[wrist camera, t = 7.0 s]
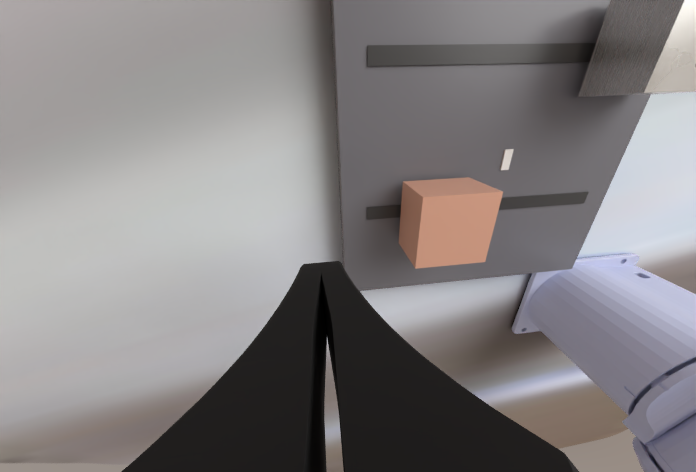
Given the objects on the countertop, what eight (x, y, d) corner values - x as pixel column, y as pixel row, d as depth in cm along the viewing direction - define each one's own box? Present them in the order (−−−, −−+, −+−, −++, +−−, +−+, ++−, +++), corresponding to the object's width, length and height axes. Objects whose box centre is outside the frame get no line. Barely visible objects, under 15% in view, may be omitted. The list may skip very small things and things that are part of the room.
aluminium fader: (685, -2, 12) (793, -35, 9) (643, 94, 14) (723, 90, 11) (611, -3, 11) (700, -38, 9) (577, 96, 13) (644, 92, 11)
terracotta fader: (468, 177, 15) (503, 191, 12) (457, 237, 16) (485, 261, 14) (402, 181, 14) (423, 197, 12) (398, 242, 16) (415, 268, 13)
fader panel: (699, -95, 12) (751, -123, 10) (555, 259, 21) (573, 269, 19) (325, -113, 10) (327, -149, 9) (344, 279, 19) (346, 292, 18)
